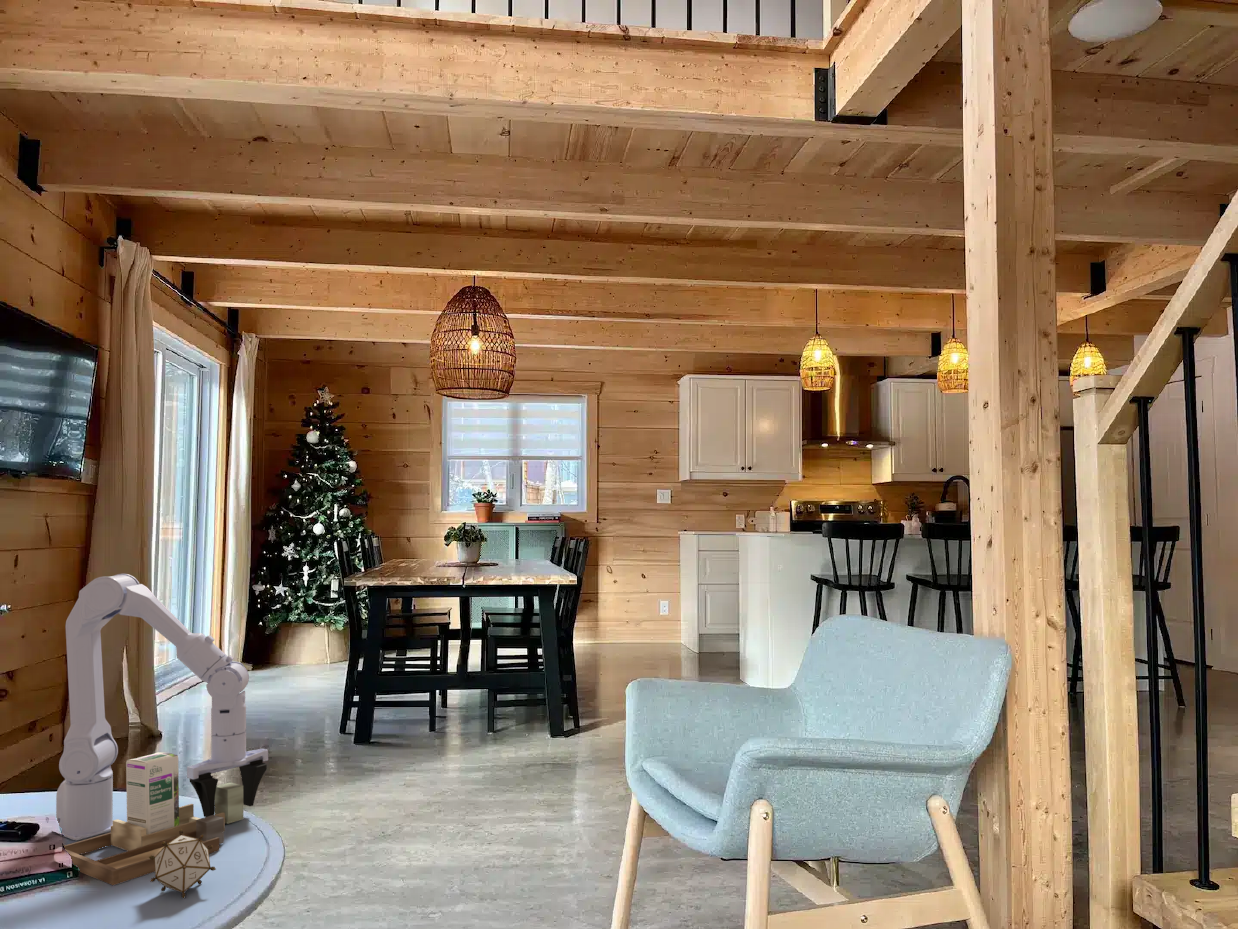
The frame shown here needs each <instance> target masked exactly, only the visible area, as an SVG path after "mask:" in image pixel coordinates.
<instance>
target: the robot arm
mask: <svg viewBox="0 0 1238 929" xmlns="http://www.w3.org/2000/svg"><path fill="white" fill-rule="evenodd" d="M116 615H120V616H126V617H135V618H141V620H143V621H144V622H146V623H147V624H148V625H150V627H152V628H153V629H154V630H155V631H156V632H158V633H159V634H160V635H161V636H162V637H164V638H165V639H166V640H167V641H168V642H169V643H171V644H172V645H174V646H175V648H176V649H175V650H176V658H177V660H179V661H180V662H181V663H182V664H183V665H184V666H185V667H186V668H188V669H189V670H190V671H191V672H192V673H193V674H194V675H196V677H197V678H198V679H200V680H201V681H202V682H205V683H206V684H205V686H206V691H207V693H208V695H210V697H211V708H210V712H211V713H210V714H211V715H210V716H211V717H210V718H211V720H210V721H211V722H210V723H211V725H210V728H211V730H210V732H211V734H210V736H211V737H210V738H211V740H210V742H211V744H210V748H211V749H210V750H211V751H210V754H211V755H210V756H211V757H210V758H209V759H206V760H203V761H201V762H198V763H195V764H191V765H188V766H186V778H187V779H189V783H190V784H191V785H192V787H193V789H194V791H195V793H196V795H197V797H198V799H199V802H200V806H201V810H202V814H203V818H204V817H208V816H211V815H215V792H216V787H217V786H218V782H219V779H218V778H214V775H212V774H216V773H220V772H223V771H227V770H232V769H237V768H239V772H240V776H241V785H243V806H247V807H253V806H254V804H255V800H256V799H255V798H256V795H257V791H258V788H259V785H260V782H261V781H262V778H263V776H264V775H265V773H266V771H267V770H268V769H267V768H268V766H267V765H268V764H267V763H265V762H267V761H269V749H266V748H259V749H253V750H247V706H246V705H247V704H246V691H245V689H246V687H248V684H249V681H250V674H249V671H248V669H247V668H246V667H245V665H244V663H243V662H240V661H234V657H233V656H232V655H230V654H229V655H227V654H226V653H225V652H224V651H222V649H221V648H220V647H218V646H217V645H216V644H215V643H214V642H215V638H214V637H213V636H212V635H211V634H209V635H207V636H206V635H205V634H204V633H202V632H197V633H195V632H194V633H193V632H191V631H190V629H188V628H187V627H186V625H184V624H183V623H182V622H181V621H180V620H179V619H178V618H177V617H176V616H175V614H174V613H173V612H171V611H170V610H169V609H168V608H167V607H166V606H165V605H164V603H162V601H161V600H159V598H158V597H157V596H155V594H154V593H153V592H152V591H151V590H150V589H149V588H148V586H146V585H144V584H143V583H140V582H139V581H138V579H137V578H136V577H135V576H133V575H131V574H128V573H118V574H115V575H112V576H98V577H96V578H94V579H92V580H91V581H90V582H88V584H86V585H85V586H83V588H81V589H80V590H79V592H78V598H77V600H76V602H75V603H74V606H73V607H72V609H71V611H70V613H69V614H68V616H67V619H66V621H65V639H66V660H67V662H66V663H67V679H68V680H67V681H68V699H69V700H68V701H69V702H68V703H69V719H70V722H69V723H70V726H69V728H68V731H67V733H66V735H65V737H64V740H63V745H64V746H63V752H62V754H61V757H59V762H58V763H59V764H58V769H59V772H60V774H61V776H62V777H63V778H64V780H63V781H62V782H61V783H60V784H59V786H58V788H57V791H56V796H55V797H56V800H55V805H56V807H55V810H56V812H55V813H56V814H55V816H56V817H55V818H57V821H58V823H59V826H60V827H61V828H62V834H64V835H65V836H64V838H67V839H70V840H73V841H81V840H85V839H89V838H92V837H96V836H99V835H103V834H106V833H110V832H111V826H113V820H114V819H113V817H114V816H113V813H114V812H113V810H114V809H113V808H114V807H113V806H114V805H113V802H114V799H113V794H114V792H113V791H114V787H113V786H114V785H113V784H114V783H113V782H114V780H113V779H114V776H113V775H114V774H113V773H114V772H113V770H112V766H111V765H113V763H115V761H116V759H117V757H118V754H119V746H118V744H117V742H116V740H115V739H114V737H113V735H112V734H113V733H112V727H111V724H110V723H109V722H108V720H107V719H106V711H105V694H104V693H105V692H104V674H103V673H104V672H103V670H104V669H103V654H102V637H101V636H102V635H101V630H102V628H103V627H105V625H107V624H108V623H109V622H110V621H111V620H112V619H114V617H115V616H116Z"/></svg>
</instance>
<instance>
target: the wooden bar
mask: <svg viewBox="0 0 1238 929" xmlns="http://www.w3.org/2000/svg"><path fill="white" fill-rule="evenodd" d="M224 832H225V831H224V818H223V817H219V816H216V815H215V814H214V815H211V816H208V817H204V816H203V817H202V818H201V819H198V820H196V838H197V839H199V837H200V835H203V838H202V839H201V841H202V842H203V841H207V840H210V839H213V838H216V837H218V838H219V845H222V844H224V843H225V836H224V835H225V833H224ZM162 849H163V847H162V848H158V849H155V850H152V851H149V852H145V853H142V854H139V855H136V856H132V857H129V858H126V859H123V860H119V861H116V862H113V863H110V864H107V865H108V866H110V867H113V868H115V869H118V868H121V867H124V866H127V865H131V864H134V863H137V862H140V861H143V860H146V859H150V858H149V856H151V855H152V856H154V857H155V856H156V855H157V854H158V853H159V852H160V851H161V850H162Z"/></svg>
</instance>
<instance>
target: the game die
mask: <svg viewBox="0 0 1238 929" xmlns="http://www.w3.org/2000/svg"><path fill="white" fill-rule="evenodd" d="M179 834H180V835H179V836H178V837H177V838H175V839H174V840H172V841H171V842H169V843H168V844H167V842H166V841H163V842H162V845H163V846H164V847H163V849H162V850H161V851H160V852H159V853H158V854H157V855H156V856H155V857H154V856H152V855H151V856H149V858H150V860H151V859H152V860H153V859H154V863H155V872H154V877H151V879H150V880H149V882H151V883H153V882H155V881H158V882H159V884H160V885H161V886H162V887H161V890H160V891H161V893H162V892H164V891H166V890H167V889H169V890H170V889H171V890H174V891H175V892H176V891H177V892H179V893H181V898H184V897H185V898H186V896H187V895H186V891H188V890H189V889H190V888H192V887H193V886H194V885H195V884H197V885H202V884H203V882H202V880H201V879H202V878H203V877H204V876H205V875H206V874H207V873H208V872H209V870H210V871H216V870H217V868H216V867H215V866H211V861H210V854H209V852H208V850H210V849H212V847H213V846H211V845H210V846H208V848H207V847H206V846H205V845H204V844H203V842H202V841H201V839H202V838H203V835H200V837H199V839H197V838H193V837H189V836H185V835H183V831H182V829H181V830H180V831H179ZM201 883H202V884H201ZM185 898H184V899H185Z"/></svg>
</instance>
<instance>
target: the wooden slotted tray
mask: <svg viewBox="0 0 1238 929" xmlns="http://www.w3.org/2000/svg"><path fill="white" fill-rule="evenodd" d="M194 815H195V814H194V804H193V803H189V804H185V805H182V806H179V825H178V826H175V827H171V828H168V829H165V830H161V831H158V832H154V833H151V834H148V835H146V828H143V827H140V826H137V825H134V824H131V823H128V822H127V821H124V820H121V819H113V826H111V831H110V832H111V845H112V846H114V847H115V848H119V849H121V850H123V851H129V850H133V849H136V848H139V847H143V846H146V845H149V844H152V843H156V842H159V841H162V840H166V839H169V838H172V837H176V836H179V835H180V834H179V831H180V830H181V829H182V831H183V834H185V833H189V832H192V831H195V830H196V820H198V819H201V818H200V817H196V816H194ZM214 815H216V816H219V817H223V818H224V832H225V831H226V826H225V824H228V825H229V824H232V823H235V822H239V821H241V820H244V804H243V785H242V784H239V783H235V782H226V783H222V784H219V785H217V787H216V792H215V813H214Z"/></svg>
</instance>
